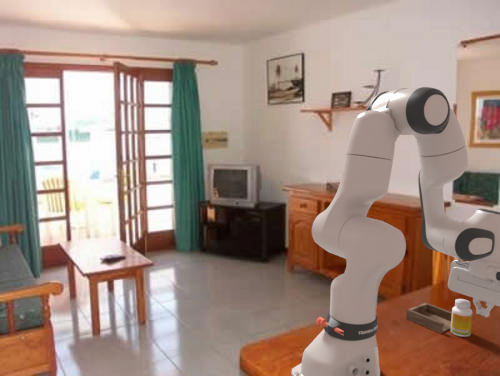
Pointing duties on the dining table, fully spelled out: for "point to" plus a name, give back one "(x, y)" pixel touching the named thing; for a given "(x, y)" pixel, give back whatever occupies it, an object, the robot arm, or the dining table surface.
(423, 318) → the tray
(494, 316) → the dining table surface
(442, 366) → the dining table surface
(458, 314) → the supplement bottle
